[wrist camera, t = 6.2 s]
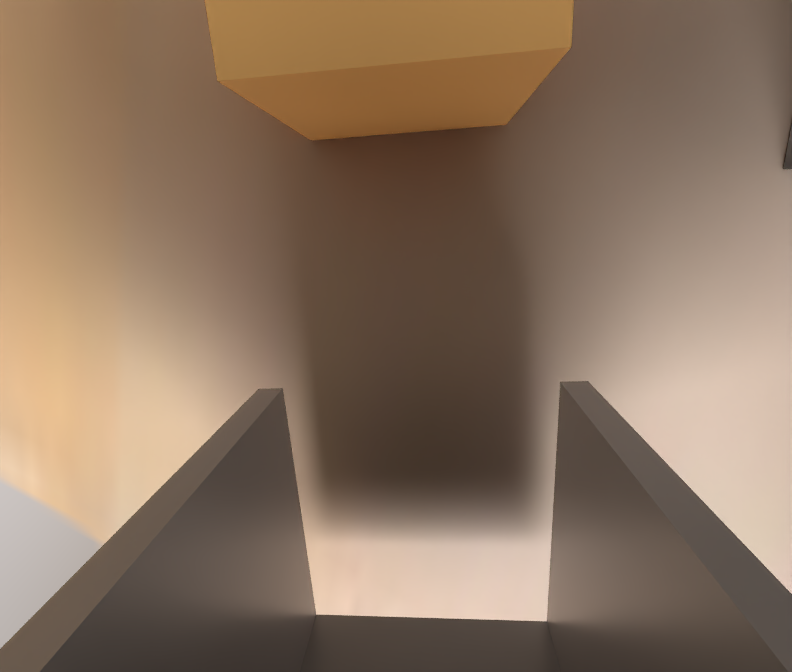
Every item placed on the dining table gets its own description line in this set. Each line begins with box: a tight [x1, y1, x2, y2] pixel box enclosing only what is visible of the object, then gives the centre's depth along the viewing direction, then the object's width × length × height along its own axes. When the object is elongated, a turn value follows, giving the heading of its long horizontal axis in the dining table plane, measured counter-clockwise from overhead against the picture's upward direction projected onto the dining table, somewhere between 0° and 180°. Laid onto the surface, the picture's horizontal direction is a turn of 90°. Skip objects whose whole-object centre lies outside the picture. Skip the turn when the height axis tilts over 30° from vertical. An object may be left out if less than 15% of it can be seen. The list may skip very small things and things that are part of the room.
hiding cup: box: [0, 381, 792, 672], centre depth 6 cm, size 6×6×6 cm
